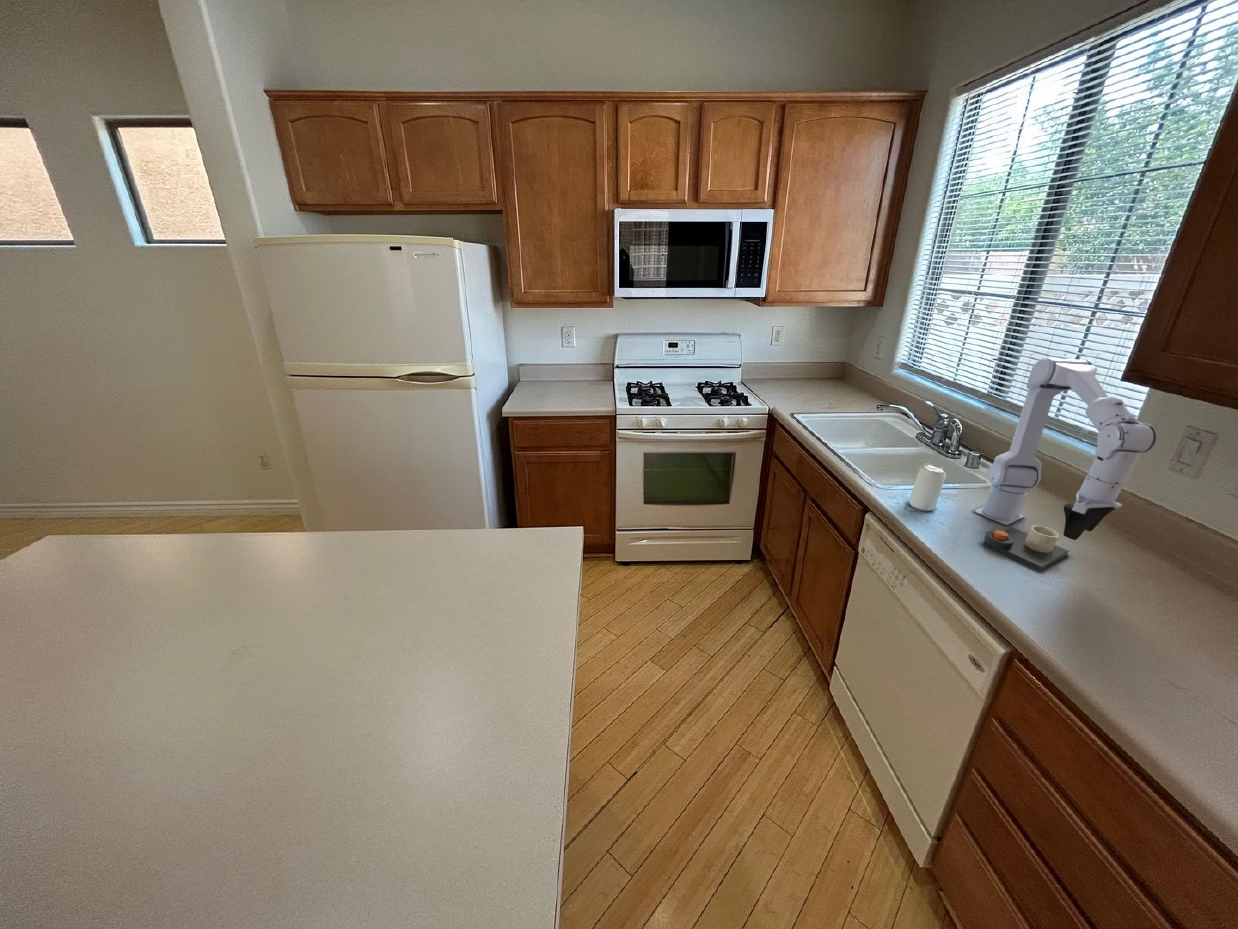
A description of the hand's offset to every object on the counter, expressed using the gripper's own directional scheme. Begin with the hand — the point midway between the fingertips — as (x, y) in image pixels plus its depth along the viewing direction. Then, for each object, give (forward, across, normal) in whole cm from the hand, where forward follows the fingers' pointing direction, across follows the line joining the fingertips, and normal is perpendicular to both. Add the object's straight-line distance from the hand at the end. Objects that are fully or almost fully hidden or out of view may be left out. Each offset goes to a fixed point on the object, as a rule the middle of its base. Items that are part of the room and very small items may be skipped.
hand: (1077, 533), depth 105 cm
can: (+11, +2, +33) cm, 35 cm away
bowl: (+9, +5, +6) cm, 12 cm away
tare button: (+8, -2, +12) cm, 14 cm away
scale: (+10, +3, +8) cm, 13 cm away
